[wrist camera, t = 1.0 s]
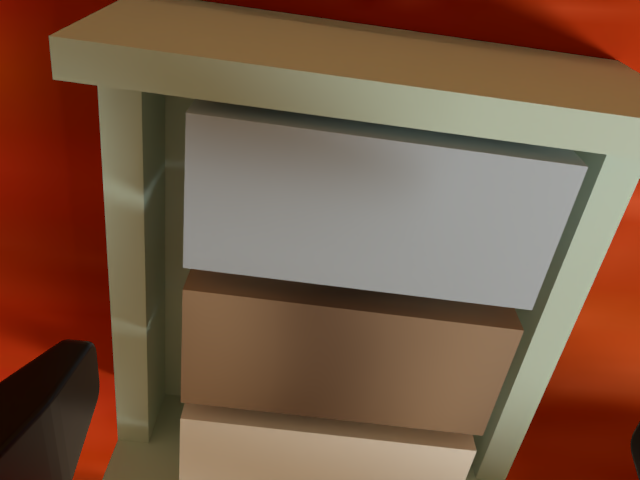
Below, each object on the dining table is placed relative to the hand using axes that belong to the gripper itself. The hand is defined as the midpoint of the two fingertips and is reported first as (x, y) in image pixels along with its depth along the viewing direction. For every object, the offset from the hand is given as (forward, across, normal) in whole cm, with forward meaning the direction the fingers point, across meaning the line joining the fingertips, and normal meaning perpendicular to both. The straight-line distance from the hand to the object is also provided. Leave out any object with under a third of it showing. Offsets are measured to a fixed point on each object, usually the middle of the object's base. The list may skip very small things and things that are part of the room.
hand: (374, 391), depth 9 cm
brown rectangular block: (+7, 0, +4) cm, 8 cm away
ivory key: (+7, 0, +8) cm, 11 cm away
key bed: (+10, 0, +4) cm, 11 cm away
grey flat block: (+7, 0, 0) cm, 7 cm away
